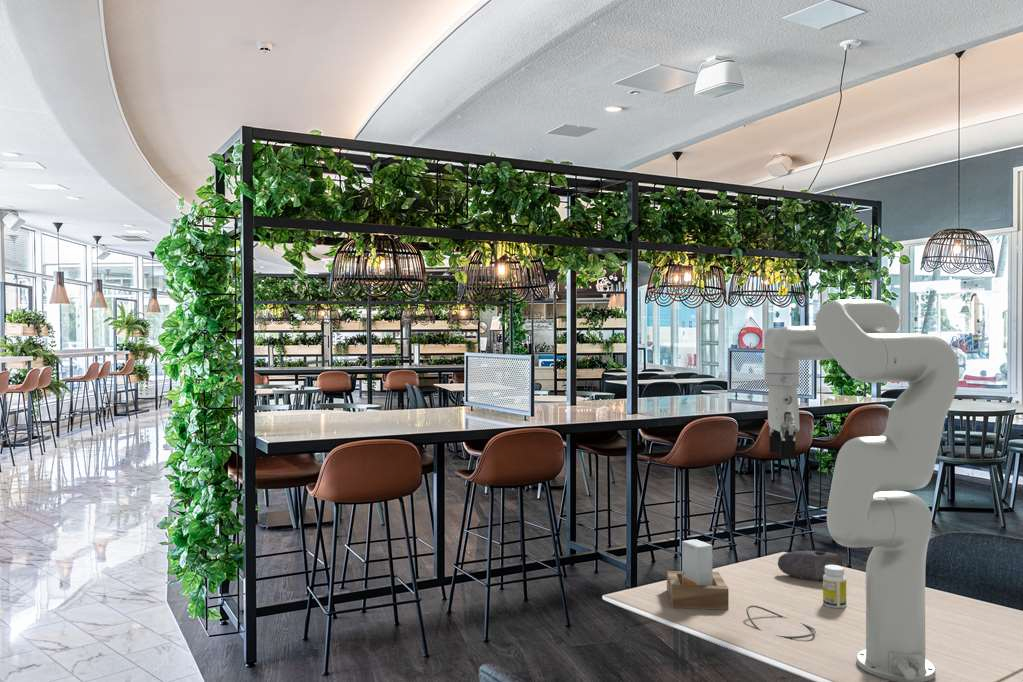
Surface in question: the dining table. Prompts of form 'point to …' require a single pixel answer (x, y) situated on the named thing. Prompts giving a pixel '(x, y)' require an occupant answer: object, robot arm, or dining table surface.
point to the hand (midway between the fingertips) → (782, 455)
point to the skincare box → (696, 563)
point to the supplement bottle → (834, 587)
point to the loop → (780, 616)
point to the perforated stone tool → (808, 563)
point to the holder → (697, 593)
